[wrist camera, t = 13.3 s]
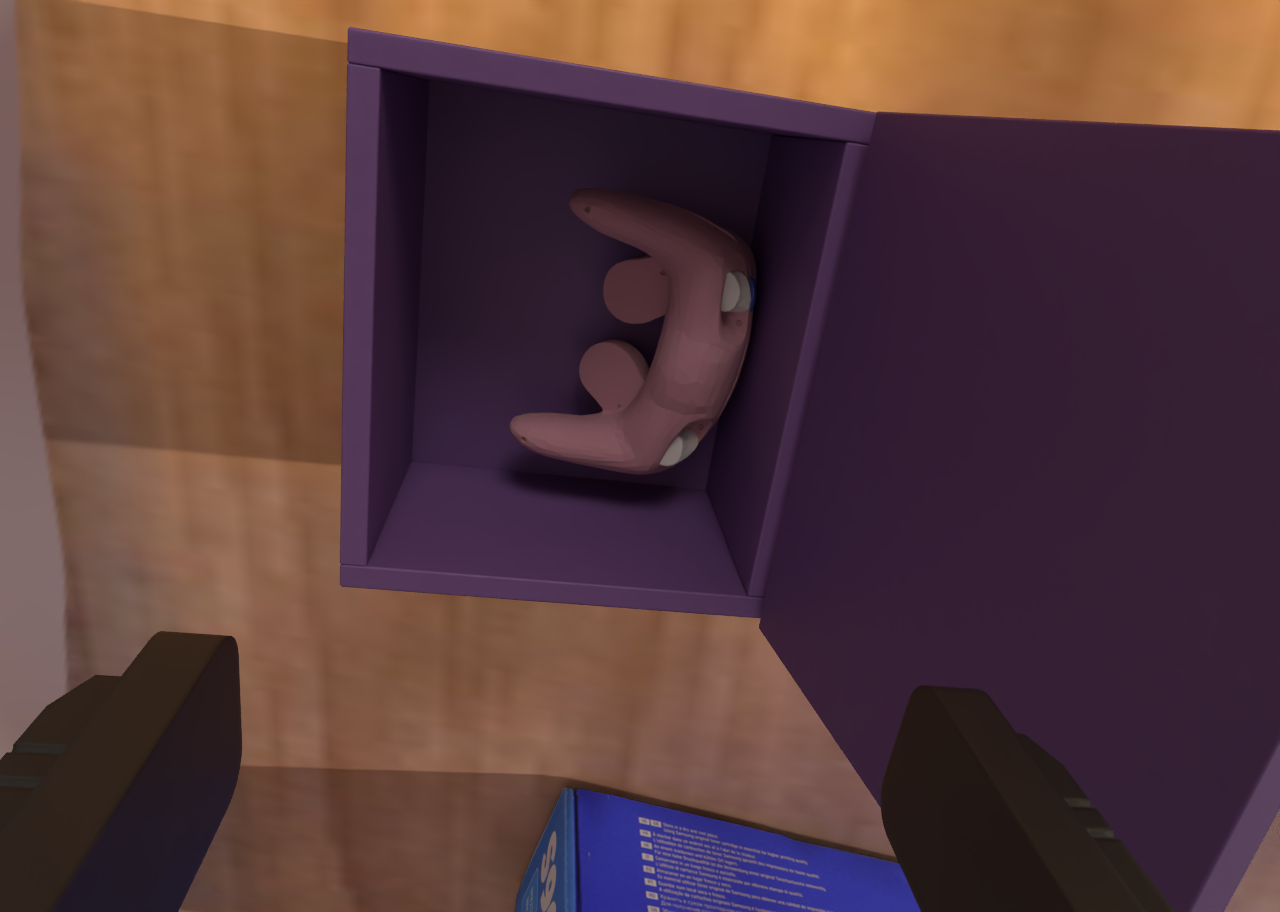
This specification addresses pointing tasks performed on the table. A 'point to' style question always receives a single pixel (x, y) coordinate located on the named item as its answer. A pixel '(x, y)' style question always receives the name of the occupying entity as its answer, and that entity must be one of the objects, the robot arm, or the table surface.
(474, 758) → the table surface
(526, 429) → the video game controller
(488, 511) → the box
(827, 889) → the toner cartridge
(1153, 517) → the lid
